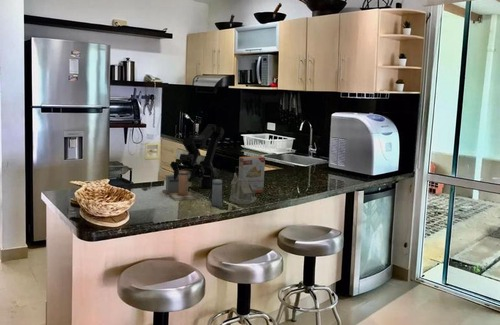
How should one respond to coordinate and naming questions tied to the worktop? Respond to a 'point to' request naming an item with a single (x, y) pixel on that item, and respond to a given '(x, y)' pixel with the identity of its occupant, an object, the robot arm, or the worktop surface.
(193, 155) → the robot arm
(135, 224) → the worktop surface
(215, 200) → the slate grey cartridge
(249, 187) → the ceramic cottage
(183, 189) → the terracotta cartridge
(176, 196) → the birch dock plate
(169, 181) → the service housing
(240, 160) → the cracker box
